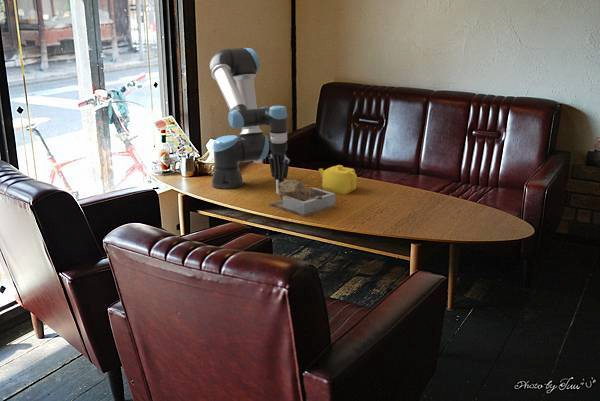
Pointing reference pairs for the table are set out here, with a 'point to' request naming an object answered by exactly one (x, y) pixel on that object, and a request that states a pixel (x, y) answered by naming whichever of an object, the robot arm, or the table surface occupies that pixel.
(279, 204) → the cradle board
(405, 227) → the table surface
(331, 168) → the teapot
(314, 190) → the cradle rails
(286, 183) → the rock
